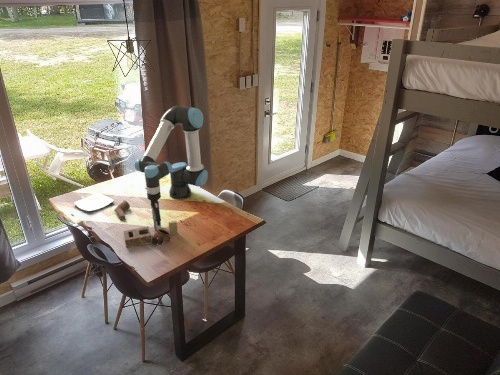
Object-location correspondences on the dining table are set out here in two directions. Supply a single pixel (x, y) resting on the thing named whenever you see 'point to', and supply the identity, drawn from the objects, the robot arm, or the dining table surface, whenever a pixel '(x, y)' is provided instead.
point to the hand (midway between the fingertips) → (157, 223)
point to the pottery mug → (160, 237)
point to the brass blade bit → (173, 227)
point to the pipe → (122, 209)
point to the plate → (94, 202)
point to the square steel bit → (154, 219)
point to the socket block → (137, 237)
